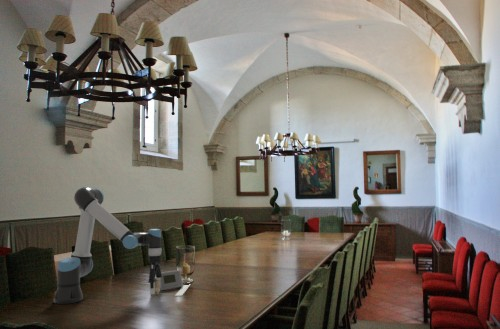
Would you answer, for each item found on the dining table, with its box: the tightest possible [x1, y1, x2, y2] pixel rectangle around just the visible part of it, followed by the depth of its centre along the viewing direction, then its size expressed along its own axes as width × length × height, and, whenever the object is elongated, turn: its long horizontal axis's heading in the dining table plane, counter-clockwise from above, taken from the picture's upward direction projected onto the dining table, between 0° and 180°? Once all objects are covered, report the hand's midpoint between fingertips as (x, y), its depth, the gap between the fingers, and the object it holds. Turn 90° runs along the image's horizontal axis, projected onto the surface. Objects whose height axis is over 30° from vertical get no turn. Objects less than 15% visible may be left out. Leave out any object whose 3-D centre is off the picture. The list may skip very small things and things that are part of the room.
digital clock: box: [159, 269, 184, 291], centre depth 259 cm, size 16×9×11 cm, turn 118°
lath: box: [174, 284, 192, 297], centre depth 256 cm, size 4×36×1 cm, turn 179°
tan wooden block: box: [150, 278, 160, 296], centre depth 243 cm, size 4×4×9 cm
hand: (155, 291), depth 243 cm, fingers open, 13 cm apart
